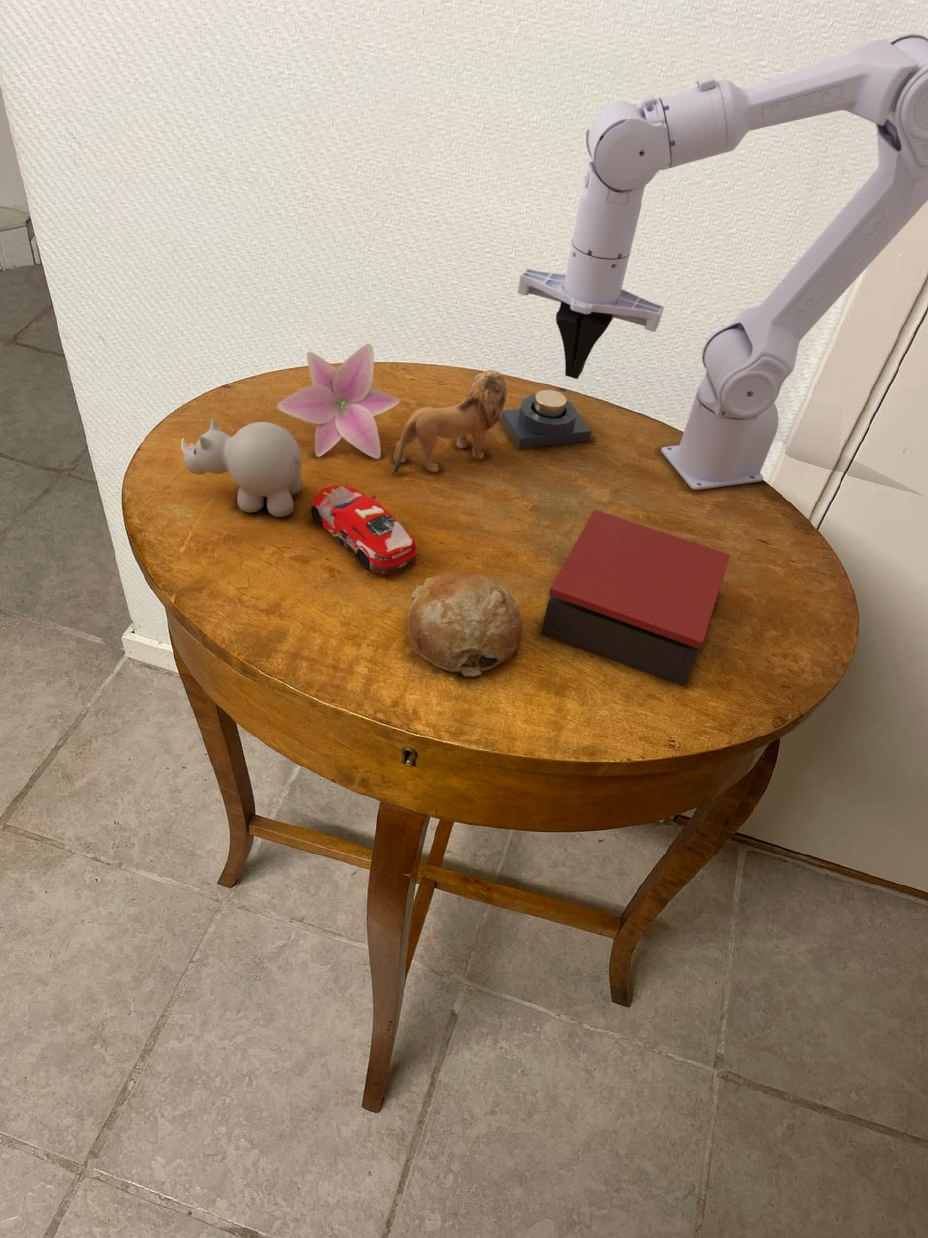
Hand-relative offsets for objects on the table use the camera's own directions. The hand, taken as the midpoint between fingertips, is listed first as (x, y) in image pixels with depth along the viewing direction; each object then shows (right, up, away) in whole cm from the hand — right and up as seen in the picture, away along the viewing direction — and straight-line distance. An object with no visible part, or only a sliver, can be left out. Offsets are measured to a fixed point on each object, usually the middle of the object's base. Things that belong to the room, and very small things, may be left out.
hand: (573, 373), depth 97 cm
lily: (-26, -6, +5) cm, 27 cm away
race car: (-22, -18, -7) cm, 29 cm away
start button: (-2, -2, +9) cm, 9 cm away
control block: (-2, -4, +11) cm, 12 cm away
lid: (+5, -22, -14) cm, 27 cm away
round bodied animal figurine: (-34, -14, -4) cm, 37 cm away
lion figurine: (-14, -8, +5) cm, 16 cm away
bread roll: (-12, -28, -15) cm, 34 cm away
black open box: (+4, -26, -10) cm, 28 cm away
